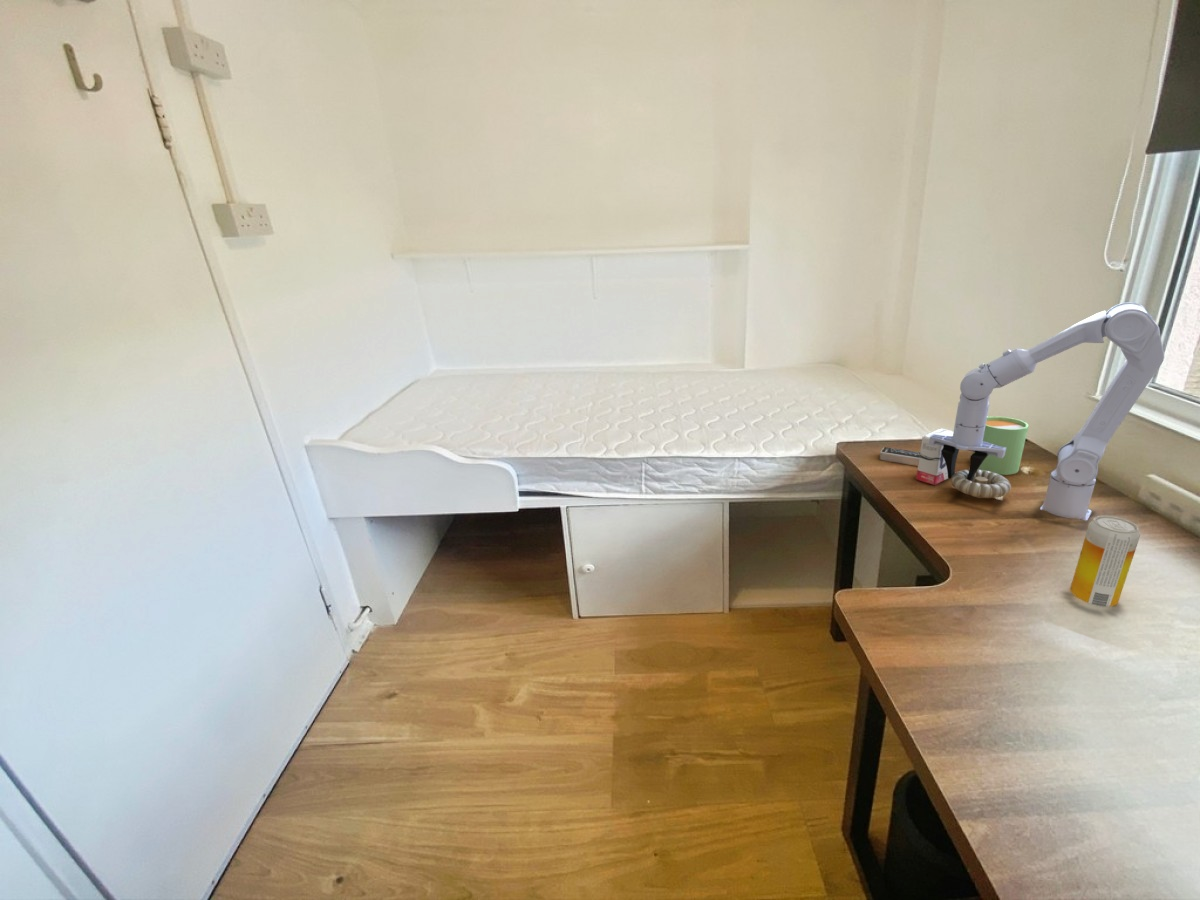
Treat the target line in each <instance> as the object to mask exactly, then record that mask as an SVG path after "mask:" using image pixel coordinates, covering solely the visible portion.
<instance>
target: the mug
mask: <svg viewBox="0 0 1200 900" xmlns="http://www.w3.org/2000/svg"><path fill="white" fill-rule="evenodd" d="M1029 426H1030V425H1029V423H1028V422H1026V421H1025V420H1022V419H1018V418H1013V417H1007V416H987V420H986V426H985V431H984V436H983V441H984V442H987V443H990V444H994V445H997V446H1001V447H1006V452H1005V456H1004V457H1003V458H998V457H997V456H994V455H988V456H987V457H986V458H985V460H984V461H983V462H982V463H981V465H980V466H979V468H978V470H985V471H990V472H994V473H996V474H999V475H1001V476H1009V475H1015V474H1017V473H1019V470H1020V466H1021V463H1022V462H1021V461H1022V457H1023V453H1024V448H1025V443H1026V442H1028V439H1027V436H1028V430H1029ZM973 453H975V452H973V451H972V454H973Z"/></svg>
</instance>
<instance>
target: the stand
mask: <svg viewBox="0 0 1200 900" xmlns="http://www.w3.org/2000/svg"><path fill="white" fill-rule="evenodd" d="M974 482H975V483H980V484H987V482H988V479H987V478H985V477H975V481H974ZM973 497H974V498H978V499H983V498H982V497H976V496H973ZM994 499H996V500H1000V501H1003V499H1004V496H1002V497H998V498H994Z"/></svg>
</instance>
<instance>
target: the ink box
mask: <svg viewBox="0 0 1200 900" xmlns="http://www.w3.org/2000/svg"><path fill="white" fill-rule="evenodd" d="M953 432H954V430H953V431H952V430H949V429H945V428H938V429H936V430H933V431H931V432H929V433H926V434H924V435H923V436H922V438H921V444H920V450H919V452H920V457H919V464H918V466H917V471H916V478H915V479H916V481H920V482H924V483H926V484H928V485H929V484H930V485H933V486H936V485H938V484H939V483H941V482H944V481H946V480H948V479H949V478H948V472H947V466H946V463H945V460H944V457H943V455H942V453H941V450H942V449H943V446H942V445H937V444H934V445H931V444H929V440H930V436H931V435H933V434H935V435H943V436H953Z"/></svg>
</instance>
